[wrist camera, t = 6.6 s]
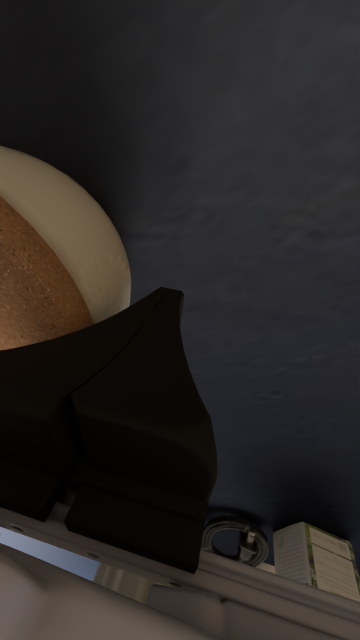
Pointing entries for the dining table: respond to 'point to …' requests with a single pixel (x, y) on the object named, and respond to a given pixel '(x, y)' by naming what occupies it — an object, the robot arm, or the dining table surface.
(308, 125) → the dining table surface
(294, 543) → the syrup box
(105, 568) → the milk frother
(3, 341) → the trinket box
